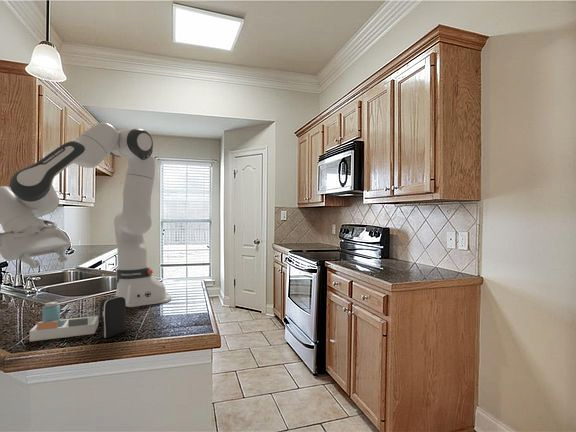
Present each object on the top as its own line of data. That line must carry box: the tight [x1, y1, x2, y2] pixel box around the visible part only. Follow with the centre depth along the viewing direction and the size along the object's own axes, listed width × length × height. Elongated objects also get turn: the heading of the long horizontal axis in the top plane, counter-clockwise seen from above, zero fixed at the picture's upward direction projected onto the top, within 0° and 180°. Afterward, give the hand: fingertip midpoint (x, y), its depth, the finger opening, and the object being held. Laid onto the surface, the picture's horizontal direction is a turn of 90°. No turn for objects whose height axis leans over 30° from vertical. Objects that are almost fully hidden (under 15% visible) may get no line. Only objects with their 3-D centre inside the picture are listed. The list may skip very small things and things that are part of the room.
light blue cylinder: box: [41, 301, 61, 327], centre depth 104 cm, size 4×4×9 cm
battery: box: [99, 295, 127, 339], centre depth 104 cm, size 7×4×11 cm, turn 155°
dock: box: [29, 315, 99, 342], centre depth 105 cm, size 16×9×5 cm, turn 112°
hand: (51, 263), depth 104 cm, fingers open, 8 cm apart
